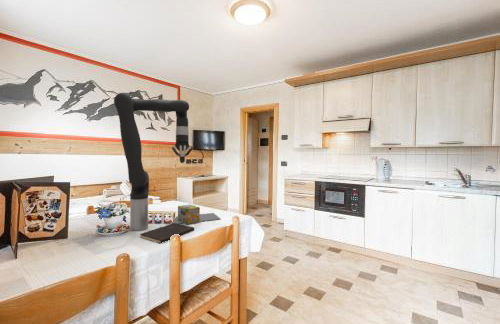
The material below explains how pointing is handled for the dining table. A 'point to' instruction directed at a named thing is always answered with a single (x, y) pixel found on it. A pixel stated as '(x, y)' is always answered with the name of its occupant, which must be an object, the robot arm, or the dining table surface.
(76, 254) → the dining table surface
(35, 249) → the dining table surface
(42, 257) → the dining table surface
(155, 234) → the hardcover book
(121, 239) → the dining table surface
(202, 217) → the charcoal mat
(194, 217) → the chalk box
